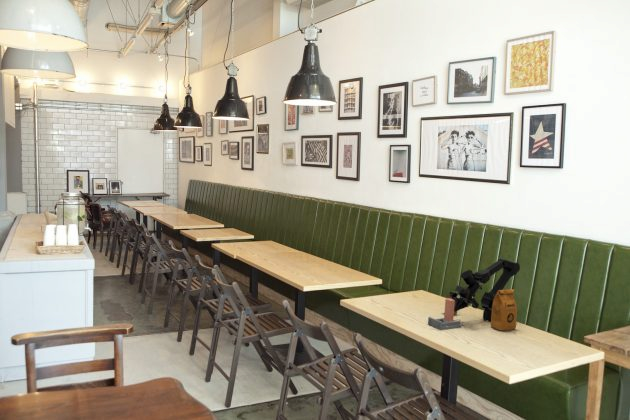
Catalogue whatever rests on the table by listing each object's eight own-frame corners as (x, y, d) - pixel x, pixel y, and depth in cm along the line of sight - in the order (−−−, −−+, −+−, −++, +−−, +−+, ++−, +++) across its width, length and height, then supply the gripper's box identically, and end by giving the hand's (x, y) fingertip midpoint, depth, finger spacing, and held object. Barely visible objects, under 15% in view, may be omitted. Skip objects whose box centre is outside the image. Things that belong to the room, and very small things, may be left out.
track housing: (448, 321, 299) (449, 314, 299) (461, 327, 290) (462, 319, 290) (427, 324, 292) (428, 317, 292) (440, 330, 283) (441, 322, 283)
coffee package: (518, 331, 289) (522, 291, 287) (500, 332, 284) (503, 292, 283) (506, 325, 298) (509, 287, 296) (487, 326, 294) (491, 287, 292)
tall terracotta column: (447, 321, 295) (448, 298, 294) (454, 324, 290) (455, 300, 289) (442, 321, 294) (444, 298, 293) (449, 324, 289) (451, 300, 288)
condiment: (459, 314, 316) (461, 294, 315) (452, 317, 310) (453, 296, 309) (449, 311, 321) (450, 292, 320) (441, 314, 315) (442, 294, 314)
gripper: (452, 277, 303) (436, 297, 298) (476, 284, 286) (459, 306, 282) (461, 289, 307) (445, 310, 303) (486, 297, 291) (469, 319, 286)
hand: (454, 311), depth 293 cm, fingers closed
